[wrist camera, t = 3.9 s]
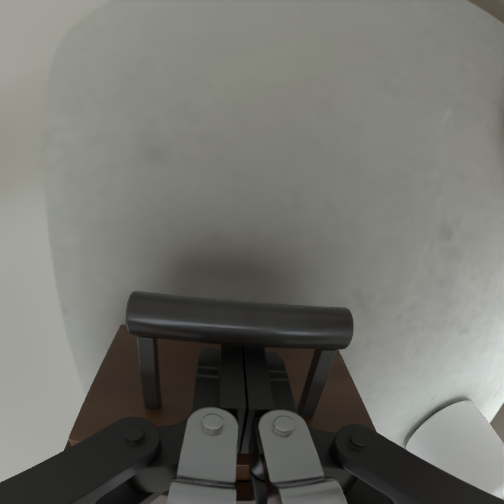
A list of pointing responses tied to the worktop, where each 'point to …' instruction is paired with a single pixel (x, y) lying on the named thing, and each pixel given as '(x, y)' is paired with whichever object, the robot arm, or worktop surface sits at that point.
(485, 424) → the beverage can
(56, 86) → the worktop surface
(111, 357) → the drawer
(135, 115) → the worktop surface
